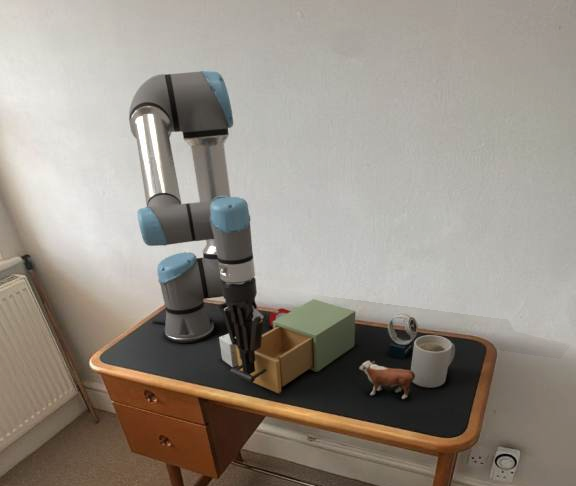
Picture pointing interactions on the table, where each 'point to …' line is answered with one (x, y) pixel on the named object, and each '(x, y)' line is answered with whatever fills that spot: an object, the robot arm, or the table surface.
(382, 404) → the table surface
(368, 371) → the bull figurine
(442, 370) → the mug
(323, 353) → the cabinet
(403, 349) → the watch
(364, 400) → the table surface
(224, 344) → the product box
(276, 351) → the drawer
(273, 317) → the tracker holder
